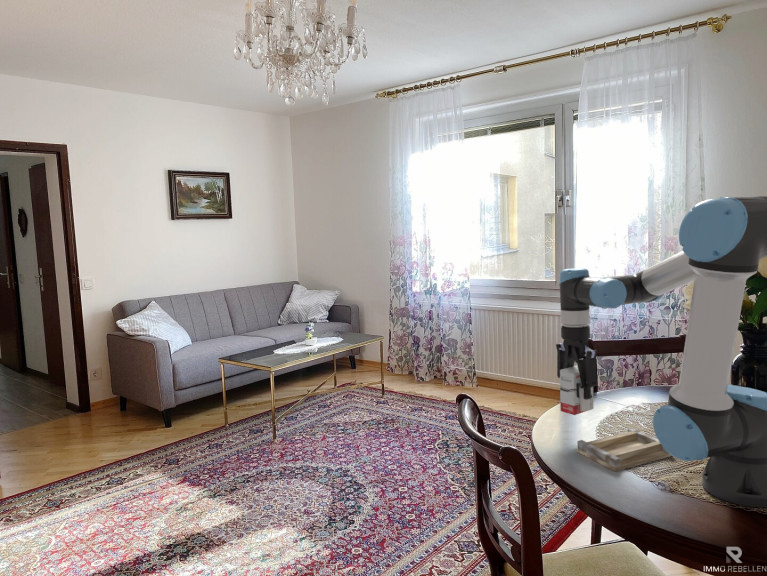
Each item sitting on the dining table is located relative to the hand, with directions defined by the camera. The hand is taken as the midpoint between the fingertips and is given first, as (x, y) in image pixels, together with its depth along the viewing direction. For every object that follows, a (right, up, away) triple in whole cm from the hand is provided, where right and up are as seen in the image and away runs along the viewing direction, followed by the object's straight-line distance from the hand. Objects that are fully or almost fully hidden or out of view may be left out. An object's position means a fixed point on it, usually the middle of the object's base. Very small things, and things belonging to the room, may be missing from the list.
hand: (577, 407), depth 153 cm
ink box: (0, -1, 0) cm, 1 cm away
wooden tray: (+9, -10, -10) cm, 17 cm away
